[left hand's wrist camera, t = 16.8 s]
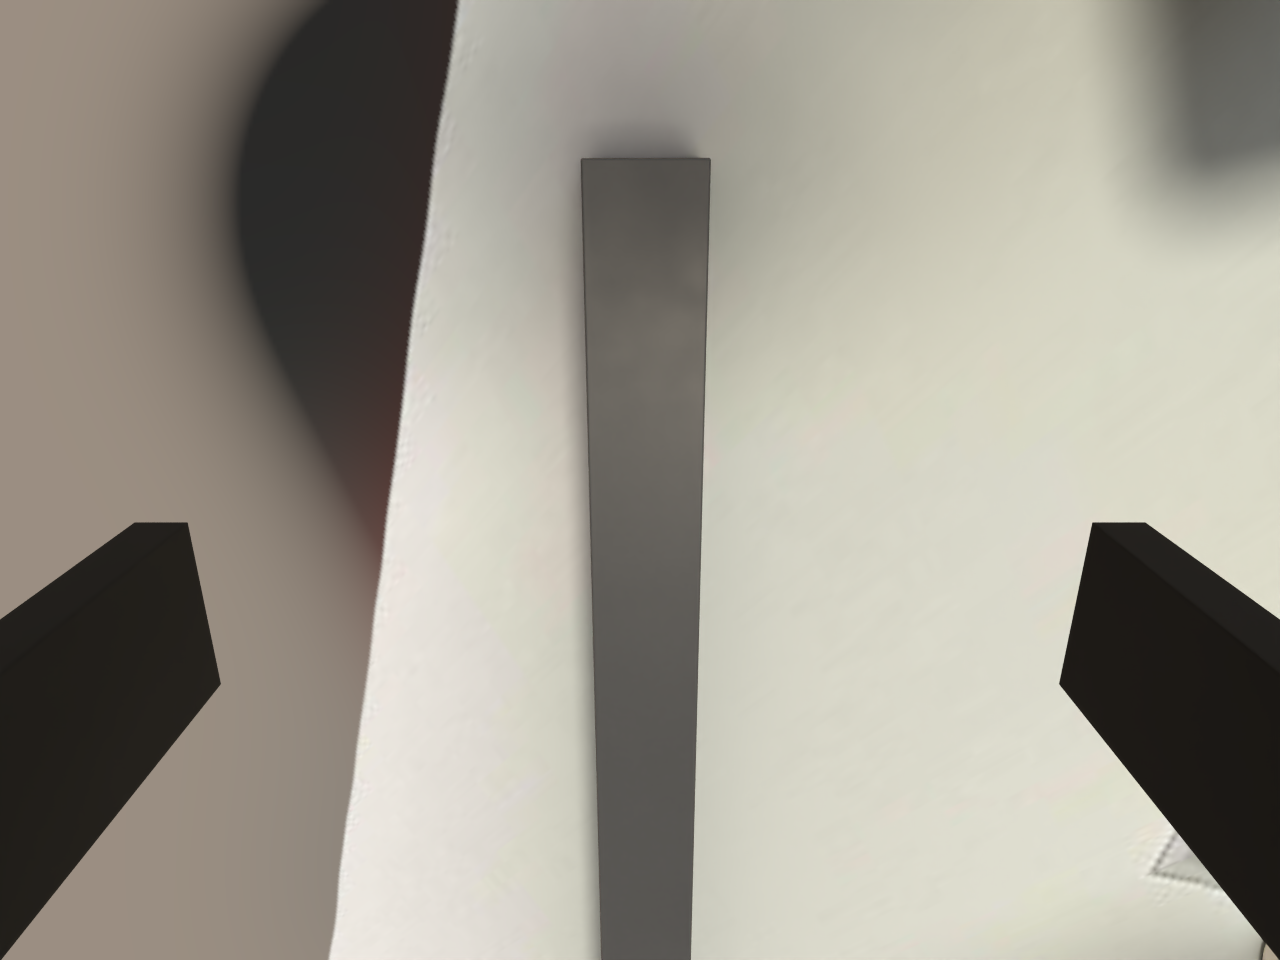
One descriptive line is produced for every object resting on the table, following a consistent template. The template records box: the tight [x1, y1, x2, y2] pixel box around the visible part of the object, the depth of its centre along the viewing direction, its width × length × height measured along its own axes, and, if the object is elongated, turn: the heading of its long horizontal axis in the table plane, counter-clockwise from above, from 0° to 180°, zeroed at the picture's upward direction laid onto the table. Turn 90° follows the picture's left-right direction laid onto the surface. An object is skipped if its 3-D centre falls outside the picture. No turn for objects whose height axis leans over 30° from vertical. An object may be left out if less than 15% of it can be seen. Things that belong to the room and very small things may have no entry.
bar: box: [581, 158, 711, 960], centre depth 53 cm, size 75×6×7 cm, turn 0°
